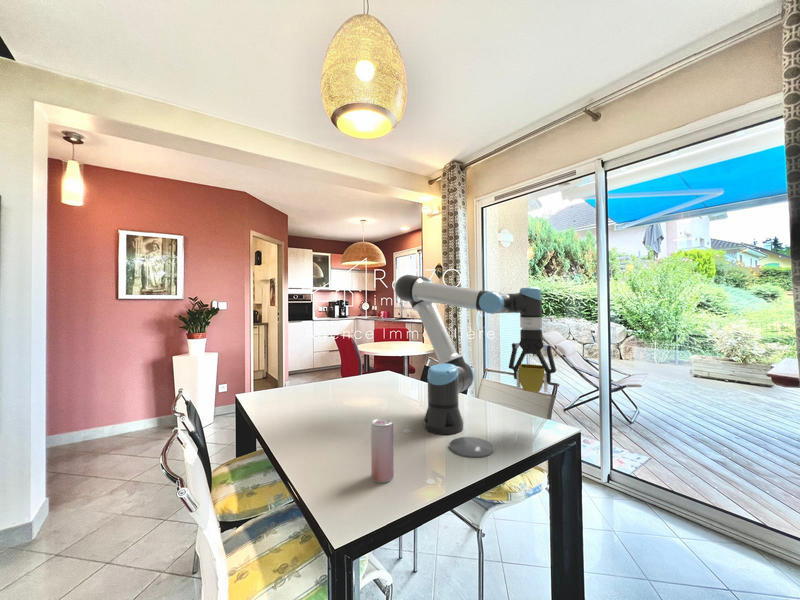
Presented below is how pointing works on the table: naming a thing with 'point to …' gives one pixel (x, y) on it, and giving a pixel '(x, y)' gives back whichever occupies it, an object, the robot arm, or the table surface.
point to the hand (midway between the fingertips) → (532, 389)
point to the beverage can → (382, 450)
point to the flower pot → (531, 377)
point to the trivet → (471, 447)
